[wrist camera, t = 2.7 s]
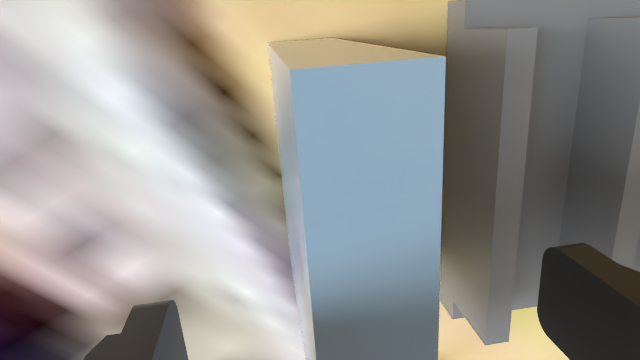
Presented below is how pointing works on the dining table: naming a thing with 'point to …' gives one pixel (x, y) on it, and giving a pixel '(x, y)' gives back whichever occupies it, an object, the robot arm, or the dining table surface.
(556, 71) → the dish rack
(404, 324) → the rectangular block
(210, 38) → the dining table surface
